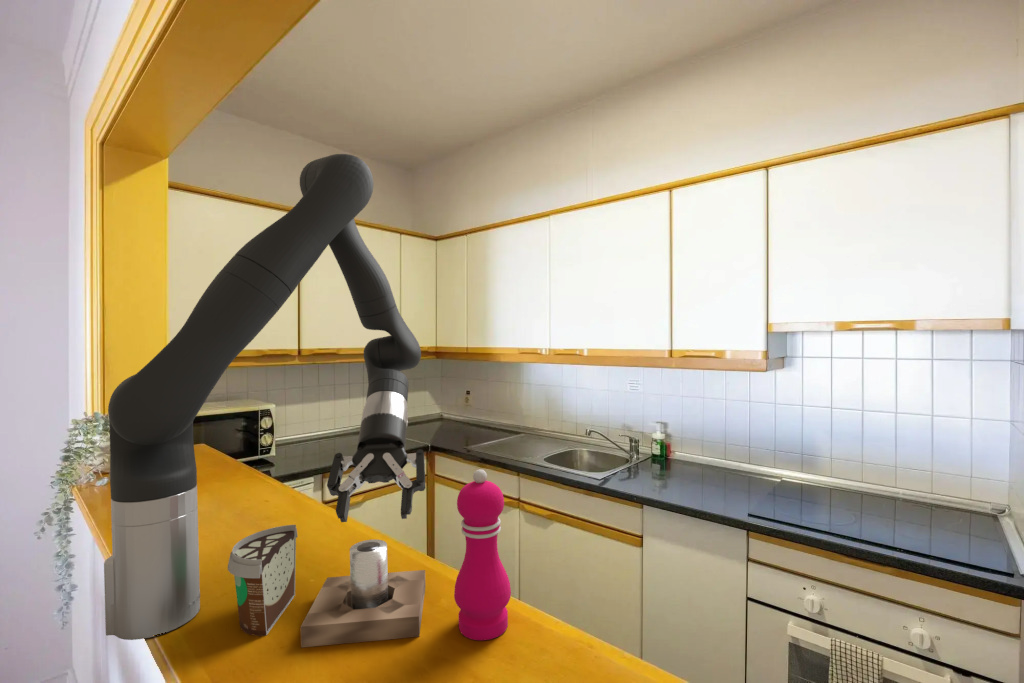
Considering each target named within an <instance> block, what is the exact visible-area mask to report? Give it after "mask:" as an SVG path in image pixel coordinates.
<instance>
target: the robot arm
mask: <svg viewBox="0 0 1024 683" xmlns="http://www.w3.org/2000/svg"><path fill="white" fill-rule="evenodd" d="M299 188H300V191H301V195H302V197H301V198H300V200H299V201H298V202H297V203H296V204H295V205H294V207H292V208H291V209H290V210H289V211H288V212H287V213H286V214H284V215H283V216H282V217H280V218H278V220H276V221H274V222H273V223H271V224H270V225H269V226H267V227H266V228H264V229H263V230H262V231H260V232H259V233H258V234H257V235H255V236H253V237H252V238H251V239H250V240H249V241H248V242H246V243H245V244H244V245H243V246H242V247H241V248H240V249H239V250H238V251H237V252H236V253H235V254H234V255H233V256H232V257H231V259H229V260H228V262H227V263H226V264H225V265H224V267H223V268H222V269H220V271H219V272H218V273H217V274H216V276H215V277H214V278H213V279H212V281H211V283H210V284H209V285H208V286H207V288H206V289H205V290H204V292H202V295H201V297H200V298H199V300H198V301H197V303H196V304H195V306H194V308H192V311H191V313H190V315H189V316H188V318H187V319H186V321H185V322H184V324H183V326H182V327H181V329H179V331H178V332H177V334H175V336H174V337H172V339H171V340H170V341H169V342H168V343H167V344H166V345H165V346H164V347H163V348H162V349H161V350H160V351H159V352H158V353H157V354H156V355H155V356H154V357H153V358H152V359H151V360H150V361H149V362H148V363H147V364H145V366H143V367H142V368H141V369H140V370H138V372H137V373H135V374H133V375H131V376H129V377H127V378H125V379H124V380H123V381H122V382H120V383H119V384H118V385H117V387H116V388H115V389H114V390H113V392H112V393H111V395H110V399H109V402H108V406H107V407H108V408H107V413H108V420H109V422H108V423H109V424H108V426H109V452H110V453H109V454H110V455H109V464H110V465H109V485H110V509H111V510H110V513H111V542H112V544H111V546H112V551H111V552H112V555H111V556H110V557H107V558H105V561H104V562H103V577H104V578H103V579H104V581H103V582H104V584H103V585H104V612H105V613H104V616H105V617H104V618H105V623H104V624H105V636H114V637H117V638H118V639H121V640H126V641H136V640H143V639H149V638H153V637H154V636H153V635H157V634H160V635H162V634H161V633H163V634H166V633H169V632H171V631H173V630H175V629H178V628H179V627H181V626H183V625H185V624H186V623H188V622H190V621H191V620H192V619H193V618H195V617H196V615H197V614H198V613H199V612H200V608H201V600H200V599H201V590H200V556H199V555H200V554H199V552H200V551H199V545H200V544H199V517H198V516H199V515H198V514H199V513H198V512H199V511H198V470H197V468H198V467H197V461H196V455H195V454H196V453H195V445H194V444H195V443H194V441H195V440H194V420H195V419H196V417H197V415H198V413H199V412H200V410H201V409H202V408H203V406H204V404H205V402H206V401H207V399H208V397H209V395H210V394H211V392H212V391H213V390H214V388H215V386H216V385H217V383H218V382H219V380H220V379H221V377H222V375H223V374H224V373H225V371H226V370H227V369H228V368H229V366H230V365H231V363H232V362H233V361H234V360H235V359H236V357H237V356H239V355H240V353H241V352H242V351H243V350H245V349H246V347H247V346H248V345H249V344H250V343H251V342H252V341H253V340H254V339H255V338H256V337H257V335H259V333H261V332H262V330H263V329H264V328H265V326H267V324H268V323H269V322H270V321H271V320H272V318H273V317H274V316H275V315H276V314H277V313H278V312H279V310H280V309H281V308H282V307H283V306H284V304H285V303H286V302H287V300H288V299H289V298H290V296H291V295H292V294H293V292H294V291H295V290H296V288H297V287H298V285H299V284H300V283H301V282H302V281H303V279H304V278H305V276H307V273H309V271H310V270H311V268H312V267H313V266H314V265H315V264H316V263H317V261H318V259H319V258H320V257H321V256H322V254H323V253H324V251H325V250H326V248H327V247H328V246H329V247H330V249H331V250H330V251H331V252H332V254H333V256H334V258H335V260H336V262H337V264H338V267H339V268H340V271H341V273H342V275H343V278H344V280H345V282H346V285H347V288H348V290H349V293H350V295H351V298H352V302H353V304H354V307H355V309H356V312H357V316H358V318H359V322H360V323H361V326H362V327H364V329H366V330H370V331H383V332H386V333H387V334H389V335H388V336H383V337H377V338H373V339H371V340H369V341H368V342H367V343H366V344H365V347H364V349H363V360H364V363H365V364H364V365H365V368H366V373H367V381H368V382H367V383H368V387H367V392H366V399H365V403H364V404H365V405H364V407H363V409H362V414H361V415H362V416H361V419H360V420H361V421H360V428H359V434H358V441H357V446H356V451H355V453H354V454H353V456H352V455H350V456H349V455H343V454H342V452H337V453H335V454H334V456H333V460H332V464H331V467H330V470H329V471H330V472H329V475H328V479H327V483H326V487H327V489H328V491H329V494H330V496H333V497H334V496H337V501H336V508H335V514H336V516H337V518H338V519H340V522H341V523H347V522H348V517H349V511H350V504H351V496H352V495H353V494H354V492H356V491H357V490H359V489H361V487H363V485H364V484H365V483H368V484H375V483H387V484H388V483H390V481H394V482H395V484H397V486H398V487H399V488H401V499H400V500H401V502H400V517H401V519H402V520H403V519H404V520H405V519H406V520H407V519H408V516H409V515H410V516H411V513H412V511H413V498H414V497H413V496H414V494H415V493H417V492H424V491H425V490H426V462H425V461H426V460H425V453H424V452H425V451H424V450H423V449H421V448H420V449H417V450H416V452H414V453H413V452H412V453H407V452H406V445H407V430H408V426H409V420H408V417H409V414H408V412H409V411H408V410H409V409H408V401H409V400H408V398H409V379H408V378H407V376H406V374H405V373H403V372H401V371H407V370H411V369H414V368H416V367H418V365H419V364H420V361H421V358H422V349H421V346H420V344H419V341H418V340H417V338H416V337H415V335H414V333H413V332H412V331H411V329H410V328H409V326H408V325H407V324H406V322H405V320H404V318H403V316H402V314H401V313H400V311H399V309H398V306H397V302H396V300H395V297H394V294H393V291H392V289H391V288H392V287H391V285H390V282H389V280H388V278H387V275H386V274H385V272H384V270H383V268H382V267H381V265H380V264H379V262H378V260H377V259H376V258H375V257H374V255H373V254H372V253H371V251H370V250H369V248H368V247H367V245H366V243H365V242H364V239H363V238H362V236H361V234H360V232H359V229H358V227H357V224H356V221H355V217H357V216H358V215H359V214H360V213H361V212H362V211H363V210H364V208H365V207H366V206H367V205H368V204H369V202H370V200H371V198H372V195H373V192H374V177H373V174H372V171H371V169H370V167H369V165H368V164H367V163H366V162H365V161H364V160H363V159H361V158H359V157H358V156H355V155H354V154H353V155H352V154H347V153H335V154H331V155H328V156H327V155H326V156H324V157H320V158H318V159H314V160H312V161H310V162H308V163H306V165H305V166H304V167H303V168H302V171H301V172H300V176H299ZM408 463H410V465H411V466H412V467H413V468H415V469H416V470H415V471H416V473H415V474H416V475H415V476H416V479H413V480H411V479H409V477H408V476H407V475H406V472H405V471H404V470H403V469H404V468H405V466H406V465H407V464H408ZM351 465H353V467H354V469H353V470H351V472H349V474H348V476H347V478H345V480H343V479H342V478H343V474H344V472H346V471H347V470H348V469H349V467H350V466H351ZM342 480H343V482H342ZM165 632H166V633H165ZM157 636H158V635H157Z"/></svg>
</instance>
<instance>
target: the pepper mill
mask: <svg viewBox="0 0 1024 683" xmlns="http://www.w3.org/2000/svg"><path fill="white" fill-rule="evenodd" d="M472 477H473V478H472V479H473V481H471V482H468V483H467V484H465V485H464V486H463V487H462V488H461V489H460V490H459V492H458V496H457V499H456V508H457V510H458V511H457V512H458V513H459V515H460V516H461V517H462V520H461V526H462V528H461V533H462V535H463V536H465V553H464V559H463V561H462V565H461V567H460V570H459V572H458V574H457V576H456V581H455V584H454V592H453V593H454V595H453V598H454V602H455V604H456V605H457V607H458V608H459V609H460V610H459V612H458V630H459V631H460V634H461V635H463V636H464V637H465V638H467V639H470V640H474V641H490V640H493V639H496V638H498V637H499V636H501V635H503V634H504V633H505V632H506V631H507V628H508V626H509V623H508V622H509V621H508V619H509V618H508V617H509V616H508V615H509V613H508V609H507V606H508V603H509V602H510V600H511V594H512V590H511V588H512V587H511V582H510V580H509V579H510V578H509V575H508V573H507V571H506V569H505V567H504V564H503V562H502V561H501V558H500V554H499V550H498V549H499V548H498V537H499V536H498V534H500V532H501V530H502V527H501V519H500V517H499V516H500V515H501V514H502V512H503V511H504V507H505V498H504V494H503V492H502V489H501V488H500V487H499V486H498V485H497V484H496V483H494V482H492V481H489V480H487V478H488V474H487V472H486V471H485V470H484V469H477V470H475V471H474V472H473V475H472Z"/></svg>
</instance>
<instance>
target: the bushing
mask: <svg viewBox="0 0 1024 683" xmlns="http://www.w3.org/2000/svg"><path fill="white" fill-rule="evenodd" d="M349 562H350V563H349V566H350V568H349V571H350V574H349V576H350V581H351V608H352V609H354V610H355V609H367V608H376V607H378V606H380V605H382V604H383V603H385V602H387V601H388V573H389V572H388V570H389V569H388V544H387V542H386V541H385V540H383V539H366V540H362V541H359V542H356V543H355V544H353V545H351V546H350V548H349Z"/></svg>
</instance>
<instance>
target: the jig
mask: <svg viewBox="0 0 1024 683" xmlns="http://www.w3.org/2000/svg"><path fill="white" fill-rule="evenodd" d="M425 594H426V570H425V569H422V570H421V569H420V570H409V571H408V570H406V571H396V572H395V571H394V572H388V601H387V602H385V603H383V604H382V605H380V606H378V607H376V608H367V609H355V610H354V609H352V608H351V581H350V575H343V576H342V575H341V576H330V577H326V580H325V581H324V582H323V584H322V587H321V588H320V590H319V591H318V594H317V596H316V598H315V600H314V601H313V603H312V604H311V607H310V609H309V610H308V612H307V614H306V616H305V618H304V620H303V622H302V623H301V625H300V648H311V647H320V646H321V647H322V646H330V645H341V644H342V645H343V644H354V643H365V642H375V641H386V640H387V641H388V640H395V639H397V640H398V639H405V638H407V639H408V638H420V633H421V624H422V618H423V617H422V616H423V611H424V610H423V609H424V601H425V600H424V599H425Z"/></svg>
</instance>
